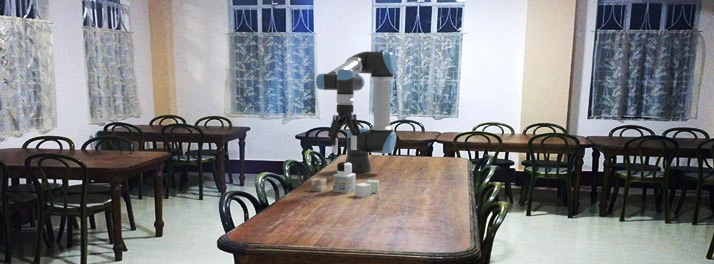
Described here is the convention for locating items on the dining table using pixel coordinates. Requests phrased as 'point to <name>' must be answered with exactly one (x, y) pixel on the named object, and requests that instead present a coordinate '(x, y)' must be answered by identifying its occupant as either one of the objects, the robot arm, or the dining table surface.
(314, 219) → the dining table surface
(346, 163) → the container
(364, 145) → the robot arm
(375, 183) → the sage cube
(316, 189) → the beech cube
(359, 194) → the cream cube
